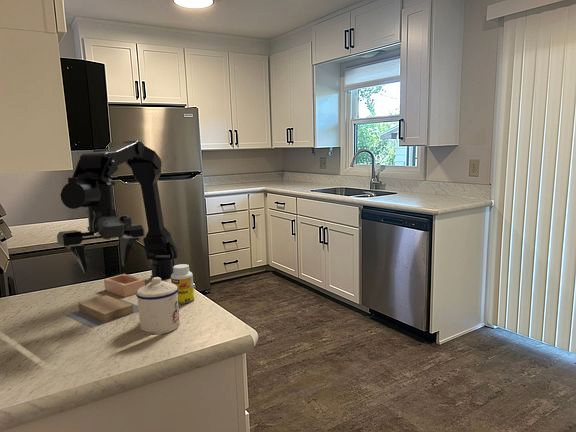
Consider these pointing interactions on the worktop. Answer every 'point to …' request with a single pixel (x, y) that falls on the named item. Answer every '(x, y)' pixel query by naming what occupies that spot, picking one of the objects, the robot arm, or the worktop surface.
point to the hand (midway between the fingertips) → (105, 269)
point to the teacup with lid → (158, 307)
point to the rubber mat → (94, 321)
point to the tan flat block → (106, 308)
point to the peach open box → (123, 284)
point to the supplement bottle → (183, 283)
